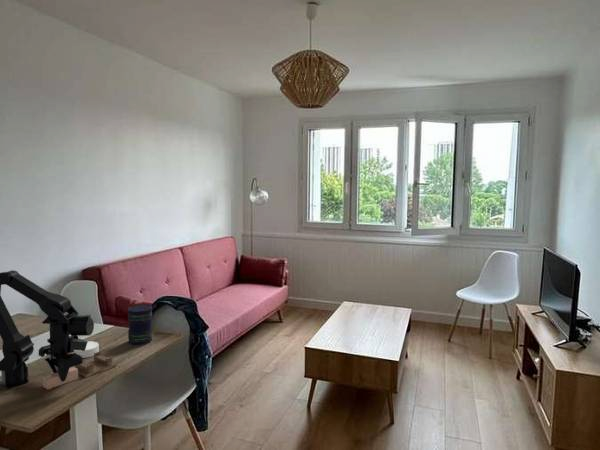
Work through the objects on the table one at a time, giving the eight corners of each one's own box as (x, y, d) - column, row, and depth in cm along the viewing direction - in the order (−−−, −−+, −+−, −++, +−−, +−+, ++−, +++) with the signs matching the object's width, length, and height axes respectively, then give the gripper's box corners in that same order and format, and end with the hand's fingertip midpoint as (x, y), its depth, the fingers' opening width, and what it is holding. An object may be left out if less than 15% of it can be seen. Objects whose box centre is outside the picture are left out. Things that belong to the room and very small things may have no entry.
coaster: (79, 361, 157) (79, 352, 156) (65, 355, 162) (65, 346, 162) (104, 352, 165) (103, 344, 165) (90, 347, 170) (90, 339, 170)
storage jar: (123, 343, 174) (122, 309, 173) (139, 336, 183) (138, 303, 182) (142, 347, 171) (141, 312, 170) (157, 339, 180) (157, 306, 179)
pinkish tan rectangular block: (47, 390, 134) (47, 379, 134) (43, 387, 136) (42, 377, 135) (78, 378, 142) (77, 369, 142) (73, 376, 144) (73, 366, 144)
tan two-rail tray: (86, 377, 143) (85, 367, 143) (71, 369, 149) (71, 359, 148) (115, 366, 152) (115, 356, 152) (101, 359, 158) (100, 350, 157)
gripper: (97, 334, 139) (98, 378, 140) (70, 323, 149) (71, 364, 151) (63, 344, 130) (65, 391, 131) (37, 331, 140) (38, 375, 142)
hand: (61, 379), depth 139 cm, fingers closed on pinkish tan rectangular block, 3 cm apart
